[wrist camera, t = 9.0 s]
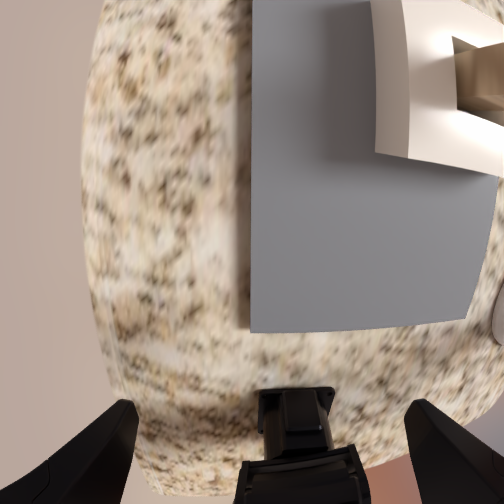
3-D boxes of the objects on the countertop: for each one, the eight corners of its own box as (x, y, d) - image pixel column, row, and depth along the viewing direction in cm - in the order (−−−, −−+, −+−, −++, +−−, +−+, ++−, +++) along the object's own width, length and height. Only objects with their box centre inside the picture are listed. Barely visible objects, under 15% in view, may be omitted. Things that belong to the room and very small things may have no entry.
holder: (491, 173, 15) (528, 184, 11) (374, 152, 15) (407, 158, 11) (488, 45, 12) (523, 38, 8) (370, 0, 12) (396, -26, 8)
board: (459, 312, 21) (465, 318, 20) (250, 324, 21) (250, 333, 20) (485, 31, 12) (492, 28, 11) (252, -29, 12) (252, -37, 11)
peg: (457, 110, 14) (599, 122, 3) (427, 101, 14) (577, 97, 3) (457, 74, 13) (591, 63, 2) (426, 63, 13) (566, 32, 2)
